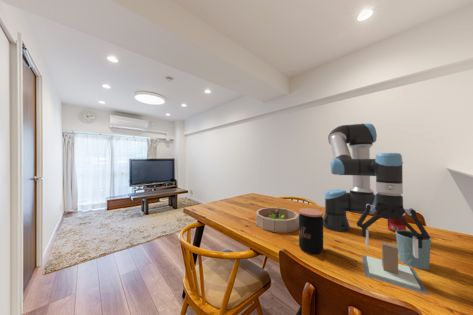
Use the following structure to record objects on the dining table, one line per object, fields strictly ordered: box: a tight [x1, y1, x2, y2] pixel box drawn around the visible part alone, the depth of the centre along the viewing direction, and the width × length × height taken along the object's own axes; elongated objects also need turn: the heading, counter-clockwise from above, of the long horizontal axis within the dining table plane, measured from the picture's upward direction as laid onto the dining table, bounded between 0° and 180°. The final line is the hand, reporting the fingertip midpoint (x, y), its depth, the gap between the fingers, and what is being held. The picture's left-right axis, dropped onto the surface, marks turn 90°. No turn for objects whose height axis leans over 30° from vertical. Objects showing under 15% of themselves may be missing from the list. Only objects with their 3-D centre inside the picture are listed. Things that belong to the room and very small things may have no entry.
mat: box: [361, 255, 430, 296], centre depth 64 cm, size 16×16×1 cm
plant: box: [266, 209, 288, 220], centre depth 112 cm, size 20×20×11 cm
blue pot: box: [395, 229, 432, 270], centre depth 70 cm, size 10×10×12 cm
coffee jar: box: [298, 207, 324, 256], centre depth 81 cm, size 11×11×18 cm
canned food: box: [387, 212, 407, 233], centre depth 102 cm, size 8×8×11 cm
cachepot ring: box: [255, 206, 299, 233], centre depth 113 cm, size 27×27×7 cm
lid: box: [366, 241, 421, 290], centre depth 64 cm, size 13×13×10 cm
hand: (389, 250), depth 64 cm, fingers open, 13 cm apart
